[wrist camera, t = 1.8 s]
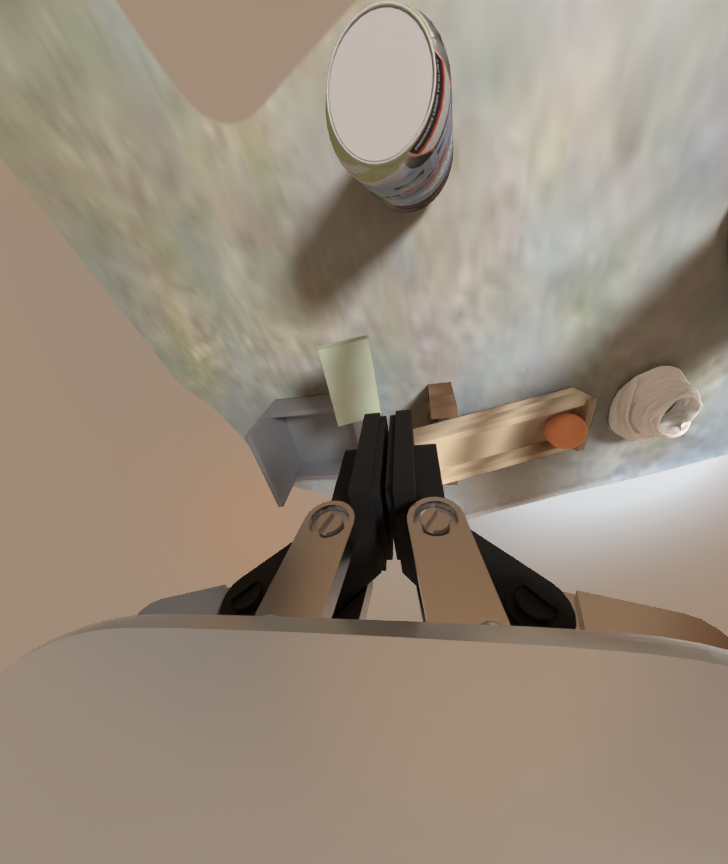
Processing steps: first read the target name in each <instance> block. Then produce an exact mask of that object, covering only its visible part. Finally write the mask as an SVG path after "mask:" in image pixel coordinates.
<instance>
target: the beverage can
mask: <svg viewBox="0 0 728 864" xmlns="http://www.w3.org/2000/svg"><path fill="white" fill-rule="evenodd" d="M326 119H327V127H328V132H329V136H330V140H331V143H332V145H333V148H334V151H335V153H336V155H337V157H338V159H339V160H340V162H341V164H342V165H343V166H344V167H345V169H346V170H347V171H348V172H349V173H350V174H351V175H352V176H353V177H354V178H355V179H357V180H358V181H359V182H360V183H361V184H363V185H364V186H365V187H366V188H367V189H368V190H370V191H371V192H372V193H373V194H374V195H375V196H377V197H378V198H379V199H380V200H381V201H382V202H384V203H385V204H386V205H387V206H388V207H390V208H392V209H393V210H396V211H399V212H414V211H417V210H420V209H422V208H424V207H425V206H427V205H428V204H429V203H431V202H432V201H433V200H434V199H435V198H436V197H437V195H438V194H439V193H440V191H441V190H442V188H443V187H444V185H445V183H446V181H447V179H448V176H449V173H450V170H451V165H452V160H453V127H452V93H451V74H450V65H449V60H448V56H447V52H446V48H445V46H444V43H443V41H442V39H441V36H440V34H439V32H438V31H437V29H436V28H435V26H434V25H433V23H432V22H431V21H430V20H429V19H428V18H427V17H426V16H425V15H424V14H423V13H422V12H420V11H419V10H417V9H415V8H413V7H411V6H408V5H404V4H401V3H396V2H392V1H386V2H378V3H376V4H373V5H370V6H368V7H367V8H365V9H364V10H362V11H360V12H359V13H358V14H357V15H356V16H355V17H354V18H353V19H352V20H351V21H350V22H349V24H348V25H347V27H346V28H345V29H344V31H343V32H342V34H341V36H340V38H339V40H338V42H337V44H336V46H335V49H334V52H333V54H332V57H331V61H330V65H329V69H328V76H327V84H326Z"/></svg>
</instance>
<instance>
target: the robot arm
mask: <svg viewBox="0 0 728 864" xmlns="http://www.w3.org/2000/svg"><path fill="white" fill-rule="evenodd" d="M393 539H394V543H395V550H396V555H397V559H398V560H401V566H402V572H403V574H405V575H406V576H407V577H408V578H409V579H410V580H411V581H412V582H413V583H414V584H415V585H416V590H417V595H418V600H419V606H420V611H421V616H422V622H408V621H382V620H365V618H366V614H367V610H368V605H369V601H370V597H371V593H372V587H373V581H372V580H373V579H375V578H376V577H377V576H378V575H379V574H380V573H381V571H386V562H387V560H392V559H393ZM0 864H728V637H727V636H726V635H725V634H724V633H723V632H721V631H720V630H719V629H717V628H715V627H714V626H712V625H710V624H708V623H707V622H705V621H703V620H702V619H699V618H696V617H693V616H690V615H687V614H684V613H679V612H675V611H670V610H665V609H661V608H656V607H651V606H647V605H642V604H637V603H633V602H628V601H624V600H618V599H614V598H610V597H605V596H600V595H595V594H591V593H587V592H582V591H576V594H570V593H566V592H562V591H561V590H560V589H559V588H557V587H556V586H555V585H554V584H553V583H551V582H550V581H548V580H547V579H545V578H544V577H542V576H541V575H539V574H538V573H536V572H534V571H533V570H531V569H530V568H528V567H527V566H525V565H524V564H522V563H521V562H519V561H518V560H516V559H515V558H513V557H512V556H510V555H509V554H507V553H505V552H504V551H502V550H501V549H499V548H498V547H496V546H495V545H493V544H492V543H490V542H489V541H487V540H485V539H484V538H483V537H481V536H479V535H478V534H476V533H475V532H473V531H472V530H470V527H469V525H468V523H467V520H466V518H465V515H464V513H463V512H462V510H461V508H460V507H459V506H458V505H457V504H455V503H454V502H453V501H450V500H448V499H446V498H444V491H443V485H442V479H441V472H440V466H439V460H438V453H437V447H436V444H424V445H414V434H413V424H412V414H411V410H402V411H396V415H391V416H390V426H389V431H388V425H387V418H386V416H381V415H380V413H370V414H365V415H364V419H363V424H362V428H361V433H360V438H359V442H358V447H357V449H354V450H346V451H345V453H344V456H343V460H342V464H341V468H340V471H339V475H338V479H337V482H336V486H335V490H334V494H333V497H332V501H328V502H325V503H322V504H320V505H318V506H316V507H315V508H313V509H312V510H311V511H310V512H309V513H308V515H307V516H306V518H305V519H304V521H303V523H302V525H301V527H300V529H299V531H298V533H297V535H296V536H295V539H294V541H293V542H292V543H290V544H289V545H287V546H286V547H285V548H283V549H282V550H280V551H279V552H278V553H276V554H275V555H273V556H272V557H270V558H269V559H267V560H266V561H265V562H263V563H262V564H260V565H259V566H258V567H256V568H255V569H254V570H252V571H250V572H249V573H248V574H246V575H245V576H243V577H242V578H241V579H239V580H238V581H237V582H236V583H235V584H233V585H232V587H230V588H228V587H227V586H226V585H221V586H217V587H213V588H208V589H204V590H200V591H195V592H190V593H186V594H182V595H177V596H173V597H168V598H164V599H160V600H158V601H155V602H153V603H151V604H150V605H148V606H147V607H145V608H144V609H142V610H141V611H140V612H139V614H137V615H134V616H128V617H120V618H115V619H111V620H106V621H102V622H99V623H95V624H91V625H88V626H85V627H83V628H80V629H77V630H75V631H72V632H69V633H67V634H64V635H61V636H59V637H57V638H54V639H52V640H50V641H48V642H46V643H44V644H42V645H40V646H39V647H37V648H35V649H33V650H32V651H30V652H29V653H27V654H26V655H24V656H23V657H21V658H20V659H18V660H17V661H16V662H14V663H13V664H12V665H11V666H10V667H9V668H7V669H6V670H5V671H4V672H3V673H1V674H0Z"/></svg>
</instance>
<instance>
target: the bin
mask: <svg viewBox="0 0 728 864" xmlns="http://www.w3.org/2000/svg"><path fill="white" fill-rule="evenodd" d="M362 424H363V423H362V421H358V422H354V423H350V424H346V425H342V426H338V423H337V420H336V416H335V412H334V408H333V404H332V401H331V397H330V394H324V395H314V396H305V397H295V398H286V399H276V400H275V401H274V402H273V403H272V404H271V406H270V407H269V408H268V409H267V411H266V412H265V413H264V414H263V415H262V417H261V418H260V419H259V420H258V422H257V423H256V424H255V425H254V427H253V428H252V429H251V430H250V432H249V433H248V434H247V435H246V436H245V437H246V439H247V441H248V443H249V445H250V447H251V450H252V452H253V454H254V456H255V458H256V460H257V462H258V464H259V466H260V468H261V471H262V473H263V475H264V477H265V479H266V481H267V483H268V485H269V487H270V489H271V492H272V493H273V496H274V498H275V500H276V502H277V504H278V506H279V507H281V506H284V504H285V502H286V500H287V497H288V495H289V493H290V491H291V489H292V487H293V485H294V482H295V480H315V479H338V475H339V471H340V468H341V464H342V460H343V456H344V453H345V451H346V450H354V449H357V447H358V442H359V438H360V433H361V428H362Z"/></svg>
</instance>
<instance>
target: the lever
mask: <svg viewBox="0 0 728 864" xmlns="http://www.w3.org/2000/svg"><path fill="white" fill-rule="evenodd" d="M318 351H319V355H320V359H321V363H322V366H323V370H324V374H325V378H326V382H327V385H328V389H329V393H330V397H331V401H332V404H333V408H334V412H335V416H336V420H337V423H338V426H342V425H346V424H350V423H354V422H358V421H362V420H363V419H364V415H365V414H370V413H380V415H381V416H382V413H381V410H380V404H379V398H378V392H377V386H376V380H375V374H374V369H373V363H372V357H371V351H370V345H369V339H368V337H367V336H366V335H365V336H361V337H357V338H353V339H348V340H344V341H340V342H336V343H331V344H327V345H323V346H319V347H318ZM597 401H598V399H597V398H595V397H593V396H591V395H588V394H586V393H584V392H582V391H580V390H578V389H576V388H574V387H572V388H568V389H564V390H561V391H557V392H553V393H549V394H545V395H541V396H538V397H534V398H530V399H526V400H522V401H519V402H515V403H511V404H507V405H503V406H499V407H496V408H492V409H488V410H484V411H480V412H477V413H473V414H469V415H465V416H461V417H457V418H454V419H450V420H449V418H441V419H437V423H434V424H431V425H427V426H423V427H419V428H415V429H413V434H414V445H424V444H436V447H437V453H438V460H439V466H440V472H441V479H442V485H444V484H448V483H451V482H455V481H458V480H462V479H466V478H469V477H473V476H476V475H480V474H484V473H487V472H491V471H494V470H498V469H502V468H505V467H509V466H512V465H516V464H520V463H523V462H527V461H530V460H534V459H538V458H541V457H545V456H548V455H552V454H555V453H559V452H563V451H566V450H570V449H575V450H576V451H579V450H583V449H584V447H585V444H586V440H587V437H586V439H585V440H584V442H583V443H582V444H580V445H579V446H577V447H574V448H570V449H562V448H558V447H555V446H553V445H552V444H551V443H550V442H549V441H548V440H547V439H546V437H545V432H544V429H545V425H546V423H547V422H548V421H549V419H551V418H552V417H553V416H555V415H558V414H561V413H571V414H575V415H577V416H579V417H580V418H582V419H583V420H584V421H585V423H586V425H587V428H588V433H589V429H590V426H591V422H592V419H593V415H594V412H595V408H596V405H597ZM587 436H588V434H587Z"/></svg>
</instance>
